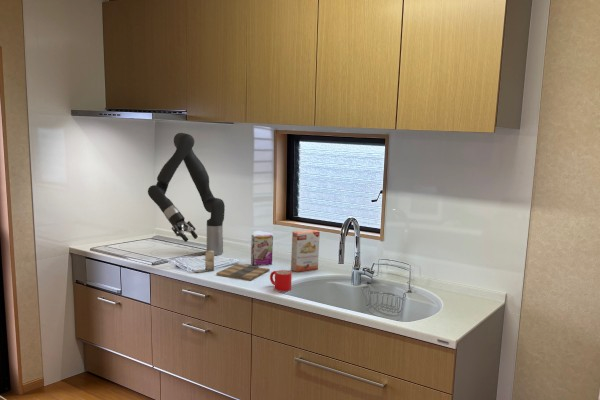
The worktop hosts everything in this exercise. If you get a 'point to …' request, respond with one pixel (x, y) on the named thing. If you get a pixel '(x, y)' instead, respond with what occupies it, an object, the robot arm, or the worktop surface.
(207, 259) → the tan tall block
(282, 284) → the mug
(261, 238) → the candy bar box
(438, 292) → the worktop surface
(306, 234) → the cracker box
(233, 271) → the oak board
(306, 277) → the worktop surface
